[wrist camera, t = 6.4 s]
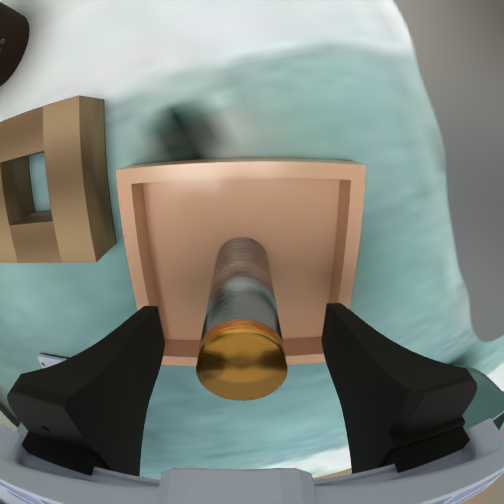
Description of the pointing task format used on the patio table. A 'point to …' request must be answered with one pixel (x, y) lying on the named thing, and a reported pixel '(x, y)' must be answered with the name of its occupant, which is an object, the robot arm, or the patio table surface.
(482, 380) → the flower pot
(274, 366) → the pin
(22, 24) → the coffee mug
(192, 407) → the patio table surface
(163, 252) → the dish
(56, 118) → the block
